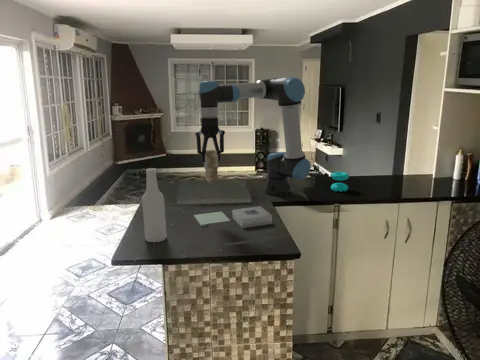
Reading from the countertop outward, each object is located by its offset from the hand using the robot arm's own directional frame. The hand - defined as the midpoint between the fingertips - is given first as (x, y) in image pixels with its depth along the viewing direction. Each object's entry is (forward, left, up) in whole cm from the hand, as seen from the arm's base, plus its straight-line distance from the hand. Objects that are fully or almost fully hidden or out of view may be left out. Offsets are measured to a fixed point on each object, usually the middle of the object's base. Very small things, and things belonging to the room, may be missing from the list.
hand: (211, 168), depth 184 cm
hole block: (-16, +10, -25) cm, 31 cm away
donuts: (-83, -22, -25) cm, 89 cm away
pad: (0, -1, -25) cm, 25 cm away
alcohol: (+28, +13, -25) cm, 40 cm away
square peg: (0, 0, -6) cm, 6 cm away
